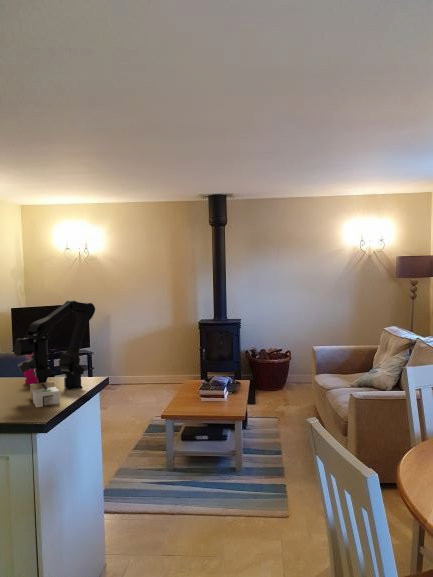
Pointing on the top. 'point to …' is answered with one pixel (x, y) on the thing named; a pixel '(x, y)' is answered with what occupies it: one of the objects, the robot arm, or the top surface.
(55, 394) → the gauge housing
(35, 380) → the pepper mill
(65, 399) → the top surface
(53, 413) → the top surface
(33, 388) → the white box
